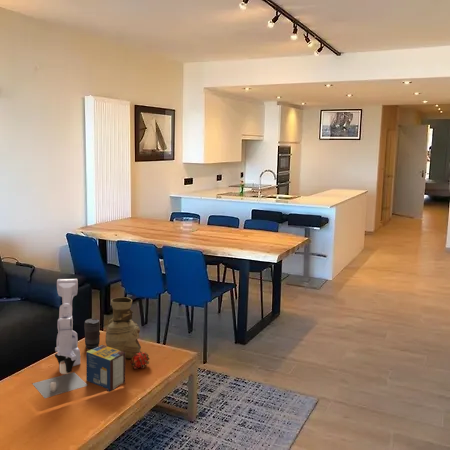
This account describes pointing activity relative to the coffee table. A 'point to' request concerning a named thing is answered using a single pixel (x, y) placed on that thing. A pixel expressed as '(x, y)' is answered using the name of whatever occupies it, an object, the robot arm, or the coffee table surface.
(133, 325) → the ceramic vessel
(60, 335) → the robot arm
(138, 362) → the dragon fruit
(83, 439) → the coffee table surface
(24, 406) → the coffee table surface
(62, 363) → the cap
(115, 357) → the protein box
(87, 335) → the camera lens
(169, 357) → the coffee table surface
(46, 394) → the base
